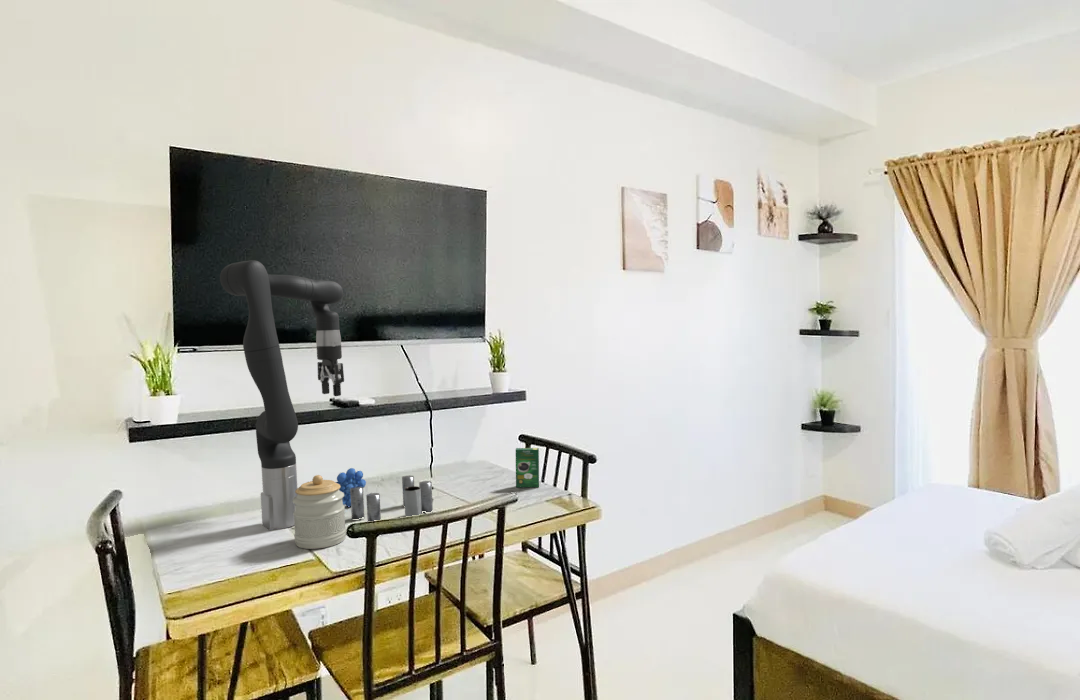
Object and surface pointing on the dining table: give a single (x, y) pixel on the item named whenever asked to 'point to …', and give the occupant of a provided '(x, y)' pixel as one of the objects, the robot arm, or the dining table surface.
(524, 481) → the coffee box
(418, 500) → the hollow grey tube
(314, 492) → the jar
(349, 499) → the grapes
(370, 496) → the spacer posts
